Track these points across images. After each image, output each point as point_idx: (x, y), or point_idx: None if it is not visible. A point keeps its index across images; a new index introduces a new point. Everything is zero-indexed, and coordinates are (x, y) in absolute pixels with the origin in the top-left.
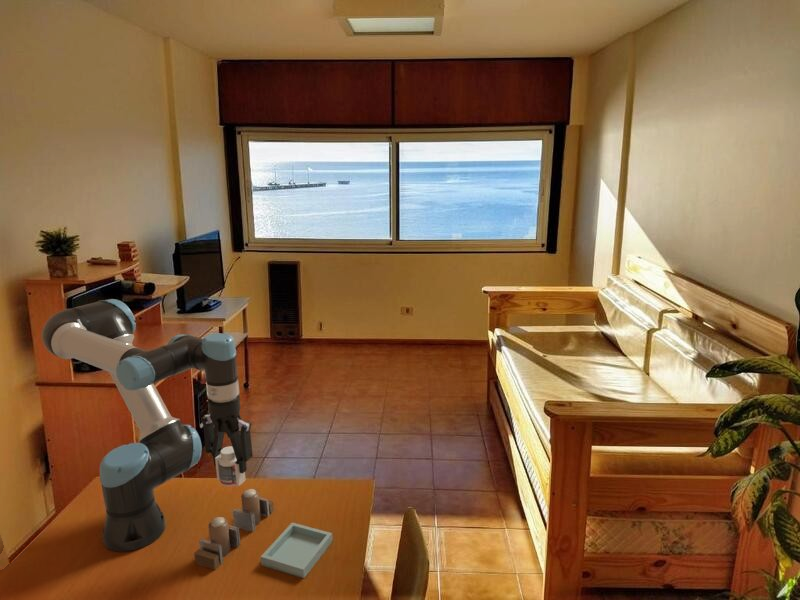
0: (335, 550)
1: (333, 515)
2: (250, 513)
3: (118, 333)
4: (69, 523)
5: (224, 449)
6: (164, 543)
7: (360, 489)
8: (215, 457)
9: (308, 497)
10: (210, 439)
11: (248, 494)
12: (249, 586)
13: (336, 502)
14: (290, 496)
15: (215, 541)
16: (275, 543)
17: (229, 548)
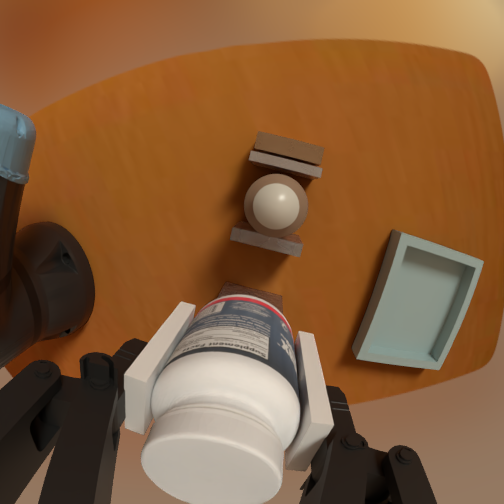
0: (477, 281)
1: (461, 164)
2: (292, 247)
3: None
4: None
5: (166, 471)
6: (114, 305)
7: (478, 71)
8: (125, 425)
9: (387, 90)
10: (21, 473)
11: (276, 220)
12: None
13: (453, 114)
14: (339, 86)
15: None
16: (379, 316)
17: None
